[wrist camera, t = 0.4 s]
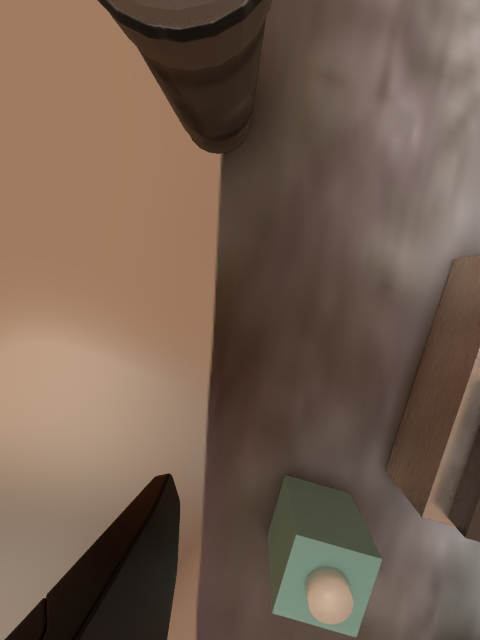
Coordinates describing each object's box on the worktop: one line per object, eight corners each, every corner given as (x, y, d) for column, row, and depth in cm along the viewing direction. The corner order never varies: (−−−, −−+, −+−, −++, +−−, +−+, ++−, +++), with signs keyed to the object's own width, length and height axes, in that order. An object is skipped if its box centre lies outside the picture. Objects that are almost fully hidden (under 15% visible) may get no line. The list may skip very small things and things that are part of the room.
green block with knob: (330, 552, 24) (362, 657, 17) (267, 534, 24) (273, 631, 17) (349, 492, 24) (390, 575, 17) (285, 474, 24) (298, 548, 17)
